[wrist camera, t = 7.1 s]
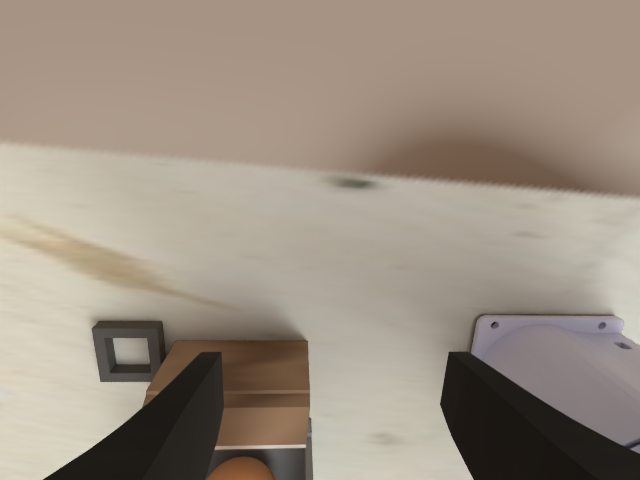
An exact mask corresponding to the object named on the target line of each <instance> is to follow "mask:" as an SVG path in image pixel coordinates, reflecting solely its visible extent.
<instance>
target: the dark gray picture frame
mask: <svg viewBox="0 0 640 480" xmlns="http://www.w3.org/2000/svg"><path fill="white" fill-rule="evenodd" d="M92 333H93V339H94V345H95V351H96V357H97V363H98V369H99V376H100V382H152V380H153V379H154V377H155V375H156V374H157V372H158V370H159V369H160V367H161V365H162V363H163V362H164V360H165V358H166V355H165V345H164V335H163V325H162V322H131V321H99V322H98V323H97V324H96V325H95V326H94V327H93V328H92ZM112 338H147V340H148V348H149V357H150V365H116V359H115V352H114V346H113V339H112Z"/></svg>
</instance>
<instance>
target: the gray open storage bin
mask: <svg viewBox="0 0 640 480" xmlns="http://www.w3.org/2000/svg"><path fill="white" fill-rule="evenodd" d="M311 435H312V431H311V418H309V420H308V430H307V439H306V448H274V449H222V450H214V453H213V456H212V459H211V462H210V466H209V469H208V472H207V475H206V478H205V480H207V478H208V477H209V475H210V474H211V473H212V472H213V471H214V470H215V469H216V468H217V467H218V466H219V465H221V464H222V463H224V462H226V461H227V460H230V459H232V458H236V457H243V456H244V457H252V458H255V459H257V460H259V461H261V462H263V463H264V464H265V465H266V466H267V467H268V468H269V469H270V470H271V472H272V473H273V475H274V477H275V478H276V480H313V464H312V441H311Z"/></svg>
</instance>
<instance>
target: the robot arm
mask: <svg viewBox="0 0 640 480" xmlns="http://www.w3.org/2000/svg"><path fill="white" fill-rule="evenodd" d="M493 322H496V323H495V324H494V325H493V326H491V324H492V323H493ZM600 323H601V324H600ZM599 324H600V325H599ZM598 325H599V326H598ZM623 327H624V321H623V320H622V319H620V318H619V317H616V316H522V315H484V316H481V317H480V318H479V319H478V320H477V323H476V328H475V334H474V339H473V344H472V350H471V353H469V352H449V354H448V360H447V366H446V372H445V378H444V384H443V390H442V396H441V402H440V405H441V408H442V411H443V414H444V417H445V420H446V423H447V425H448V428H449V430H450V433H451V436H452V438H453V440H454V442H455V444H456V446H457V448H458V450H459V452H460V454H461V456H462V458H463V460H464V462H465V464H466V466H467V468H468V469H469V471H470V473H471V475H472V477H473V479H474V480H640V345H638V344H636V343H635V342H633V341H632V340H630V339H628V338H627V337H625V336H624V335H622V334H621V333H622V330H623ZM223 410H224V394H223V373H222V352H201V353H200V354H199V355H198V356H196V357H195V358H194V359H193V360H192V361H191V362H190V363H189V364H188V365H187V366H186V367H185V368H184V369H183V370H182V371H181V372H180V373H179V374H178V375H177V376H176V377H175V378H174V379H173V380H172V381H171V382H170V383H169V384H168V385H167V386H166V387H165V388H164V389H163V390H162V391H161V392H160V393H159V394H157V395H156V396H155V397H154V398H153V399H152V400H151V401H150V402H149V403H148V404H146V405H145V406H144V407H143V408H142V409H141V410H139V411H138V412H137V413H136V414H135V415H134V416H132V417H131V418H130V419H129V420H128V421H127V422H125V423H124V424H123V425H122V426H120V427H119V428H118V429H116V430H115V431H114V432H112V433H111V434H110V435H108V436H107V437H106V438H104V439H103V440H102V441H100V442H99V443H98V444H96V445H95V446H93V447H92V448H91V449H89V450H88V451H86V452H85V453H83V454H82V455H80V456H79V457H77V458H76V459H74V460H73V461H71V462H69V463H68V464H66V465H65V466H63V467H62V468H60V469H59V470H57V471H56V472H54V473H53V474H51V475H49V476H48V477H46V478H45V479H43V480H205V478H206V475H207V472H208V469H209V466H210V462H211V459H212V456H213V453H214V450H215V447H216V443H217V440H218V435H219V430H220V425H221V420H222V415H223Z"/></svg>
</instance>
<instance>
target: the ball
mask: <svg viewBox="0 0 640 480" xmlns="http://www.w3.org/2000/svg"><path fill="white" fill-rule="evenodd" d="M207 480H276V478H275V477H274V475H273V473H272V472H271V470H270V469H269V468H268V467H267V466H266V465H265V464H264V463H263V462H261V461H259V460H257V459H255V458H252V457H244V456H243V457H236V458H232V459H230V460H227V461H226V462H224V463H222V464H221V465H219V466H218V467H217V468H216V469H215V470H214V471H213V472H212V473H211V474H210V475H209V477H208V478H207Z"/></svg>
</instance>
